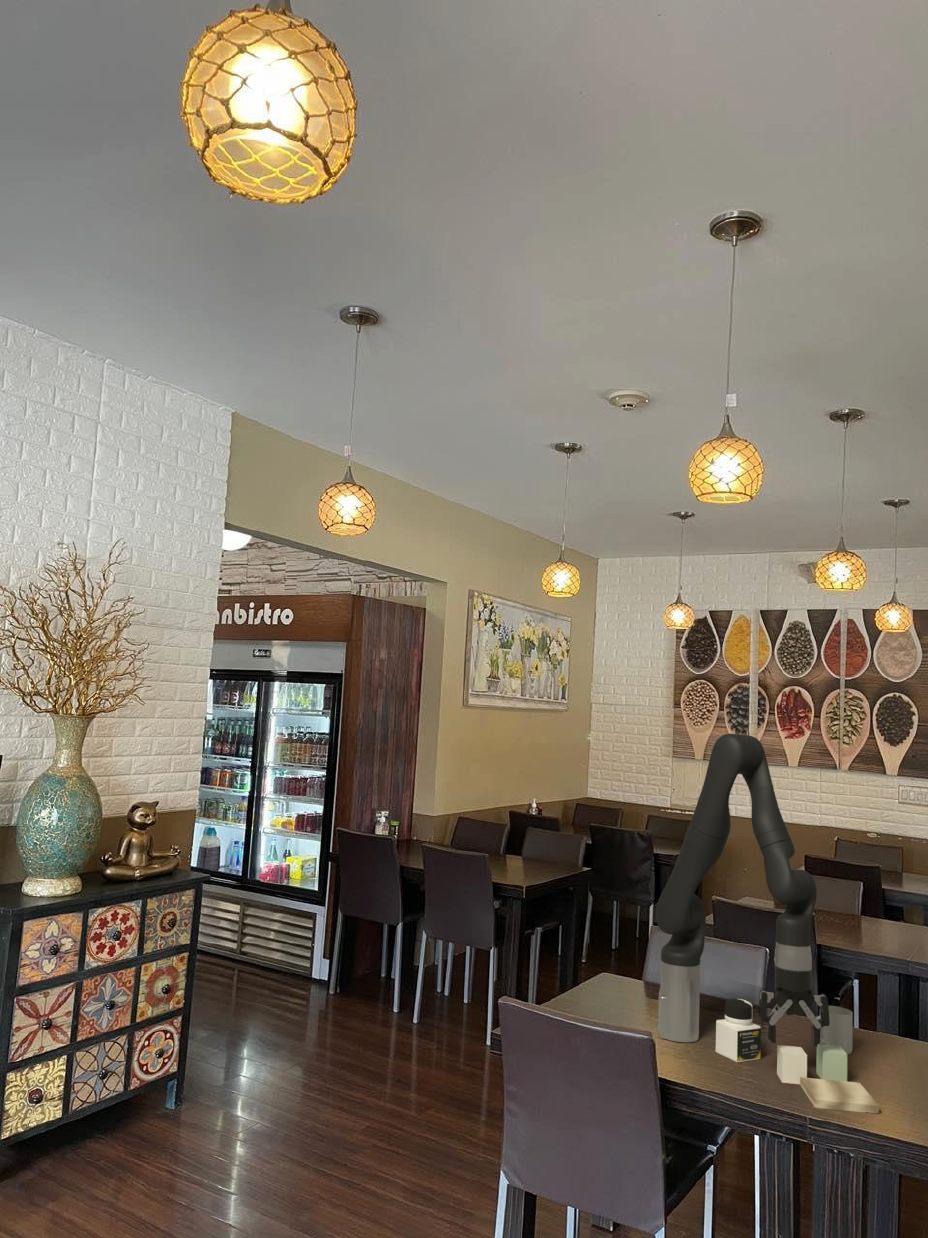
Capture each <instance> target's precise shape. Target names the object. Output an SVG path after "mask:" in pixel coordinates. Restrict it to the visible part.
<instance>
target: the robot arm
mask: <svg viewBox="0 0 928 1238" xmlns="http://www.w3.org/2000/svg"><path fill="white" fill-rule="evenodd" d="M738 775H741V776H742V778H743V780H744V781H745V783H746V786H747V788H748V791H749V793H750V801H751V813H750V814H751V825H752V830H753V834H754V835H755V839H756V842H757V844H758V846H759V850H760V852H761V855H762V857H763V867H764V872H765V873H764V875H765V880H766V887H767V889H768V891H769V893H770V894H771V896H772V897H773V899H774V900H775V901H776V902H777V903H779V904H782V905H785V910H784V912H783V913H781V914H780V915H778V916H777V918H776V920H775V921H776V922H775V949H774V958H773V960H774V990H773V992H769V991H765V990H764V989H760V990H759V999H758V1011H757V1012H758V1014H757V1015H758V1018H759V1020H761V1022H764V1023H766V1024H767V1026H766V1027H767V1028H766V1029H767V1034H766V1035H767V1038H768V1040H769V1041H770V1043H771V1044H776V1043H777V1026H776V1023H778V1020H779V1019H781V1018H782V1017H783V1016H784V1015H787V1016H793V1015H794V1016H795V1015H796V1016H798V1017H803V1015H806V1016H807V1018H808V1019H809V1021H810V1022H811V1024H812V1025H813V1026H812V1025H811V1027H810V1028H811V1029H810V1032H811V1034H810V1035H811V1045H812V1046H813V1047H815V1048H817V1044H820V1029H821V1027H823V1026H829V1025H830V1020H829V1006H830V1005H829V998H828V997H827V996H826V995H825V994H823V993H820V994H819V995H818V994H815V995H814V993H813V971H812V970H813V960H812V958H813V957H812V956H813V955H812V949H811V923H812V920H813V916H814V910H815V907H816V901H817V892H818V890H817V883H816V881H815V879H814V877H813V875H812V874H811V873H810V872H808V871H806V870H804V869H792V868H791V864H790V859H791V858H792V857H793V856H795V852H796V850H795V846H794V844H793V843H794V842H793V841H792V839H791V836H790V834H789V830H788V828H787V826H786V824H785V821H784V819H783V816H782V813H781V810H780V808H779V804H778V800H777V797H776V794H775V788H774V785H773V781H772V777H771V771H770V769H769V764H768V759H767V755H766V752H765V749H764V746H763V744H762V742H761V741H760V740H759V739H758V738H757V737H755V736H753V735H750V734H742V733H741V734H740V733H739V734H737V733H725V734H722V735H721V736H719V737H718V739H717V740H716V741H715V743H714V744H713V746H712V749H711V753H710V757H709V761H708V764H707V768H706V774H705V777H704V782H703V785H702V789H701V790H700V794H699V796H698V800H697V803H696V805H695V810H694V811H693V813H692V817H691V819H690V822H689V824H688V827H687V830H686V834H685V836H684V840H683V841H682V845H681V848H680V850H679V853H678V856H677V858H676V860H675V862H674V863H675V864H674V866H673V869H672V872H671V874H670V876H669V878H668V881H666V883H665V885H664V886H665V887H663V890H662V892H661V893H660V894H661V895H659V898H658V901H657V904H656V906H655V921H656V925H657V926H658V928H659V929H660V930H661V932H663V933H665V934H668V935H671V938H670V939H669V941H668V942H667V943H666V944H665V945H664V946H662V948H661V952H660V977H659V978H660V986H659V991H658V1014H657V1016H658V1018H657V1019H658V1021H657V1031H658V1035H659V1038H660V1039H662V1040H663V1039H664V1040H668V1041H672V1042H678V1043H694V1042H697V1041H698V1040H699V1036H700V1035H699V1033H700V1028H699V1027H700V1026H699V1025H700V987H701V985H700V984H701V983H700V981H701V957H702V955H703V953H704V949H705V938H706V927H707V926H706V925H707V923H706V920H707V919H706V917H707V916H706V915H707V914H706V908H705V906H704V903H703V901H702V899H701V898H700V897H699V896H698V895H696V894H695V891H696V890H697V888H698V886H699V885H700V883H701V882H702V881H703V879H704V878H705V876H706V875H708V873H709V872H710V871H711V870H712V869H713V868H714V866H715V865H716V863H717V862H718V860H719V859H720V857H721V855H723V852H724V849H725V846H726V843H727V841H728V838H729V836H730V833H731V828H732V827H731V823H732V822H731V814H730V813H731V811H730V806H729V805H730V794H731V791H732V789H733V786H734V784H735V780H736V778H737V777H738ZM772 999H773V1000H774V1001H775V1003H776V1004H775V1006H774V1007H773V1008H772V1009H771V1010H772V1011H771V1012H770V1013H769V1014H767V1013H768V1004H769V1003H771V1001H772ZM815 1002H816V1005H817V1006H819V1016H821V1019H816V1017H817V1016H815V1014H814V1013H813V1012H812V1010H811V1009H810V1008H811V1007H812V1005H813V1004H814V1003H815Z"/></svg>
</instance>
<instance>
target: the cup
mask: <svg viewBox="0 0 928 1238" xmlns="http://www.w3.org/2000/svg"><path fill="white" fill-rule="evenodd" d="M828 1006H829V1020H830V1025H829V1026H823V1027H821V1029H820V1045H831V1046H841V1048H842V1049H843V1050H844V1051H845V1052H846V1053H847V1056H848V1055H851V1054H852V1052H853V1033H854V1032H853V1026H854V1025H853V1022H854V1021H853V1011H852V1010H850V1009H848V1008H845V1007H842V1006H834V1005H828ZM815 1017H816V1019H821V1016H820V1015H818V1016H815ZM811 1026H813V1024H812V1025H811Z"/></svg>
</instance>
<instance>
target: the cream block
mask: <svg viewBox="0 0 928 1238" xmlns="http://www.w3.org/2000/svg"><path fill="white" fill-rule="evenodd" d="M776 1053H777V1054H776V1055H777V1056H776V1075H777V1076H778V1078H779V1079H780V1082H781V1083H782V1084H783V1083H784V1084H795V1085H800V1077H802V1078H808V1054H807V1053H806V1052H805V1051H804V1049H803V1048H802V1046H793V1045H781V1044H780V1045H779V1044H777V1049H776Z"/></svg>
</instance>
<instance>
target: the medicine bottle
mask: <svg viewBox="0 0 928 1238" xmlns="http://www.w3.org/2000/svg"><path fill="white" fill-rule="evenodd" d="M753 1008H754V1007H753V1004H752V1003H751V1002H749V1001H748V1000H745V999H742V998H729V999H727V1000H726V1001H725V1002H724V1019H717V1020H716V1022H715V1052H716V1053H717V1054H719V1055H721V1056H723V1057H725V1058H727V1059H729V1060H730V1061H731V1060H732V1061H733V1062H736V1063H743V1062H749V1061H750V1062H751V1061H755V1060H760V1059H761V1058H762V1057H761V1055H762V1054H761V1052H762V1051H761V1048H762V1047H761V1046H762V1027H761V1026H760V1025H758V1024H756V1023H753Z"/></svg>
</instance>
